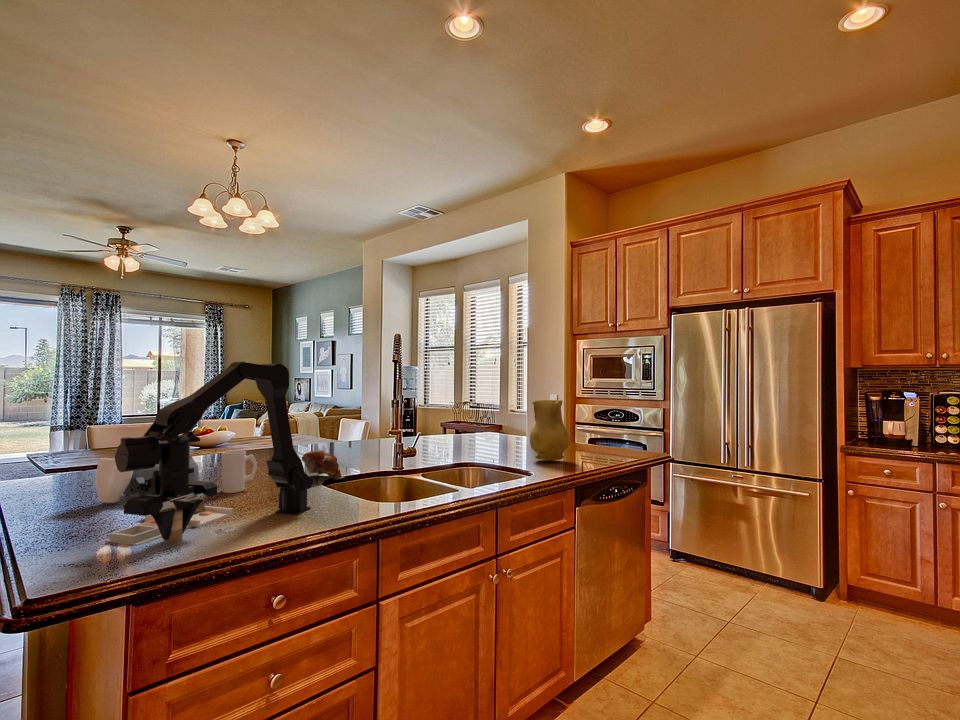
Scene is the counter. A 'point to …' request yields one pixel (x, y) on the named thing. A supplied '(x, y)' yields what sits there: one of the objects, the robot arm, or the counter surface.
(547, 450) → the pitcher
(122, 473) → the mug
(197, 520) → the housing base
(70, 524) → the counter surface
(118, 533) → the board
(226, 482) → the mug
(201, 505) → the lid
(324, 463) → the reddish brown lump
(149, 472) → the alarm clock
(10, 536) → the counter surface
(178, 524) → the peg
